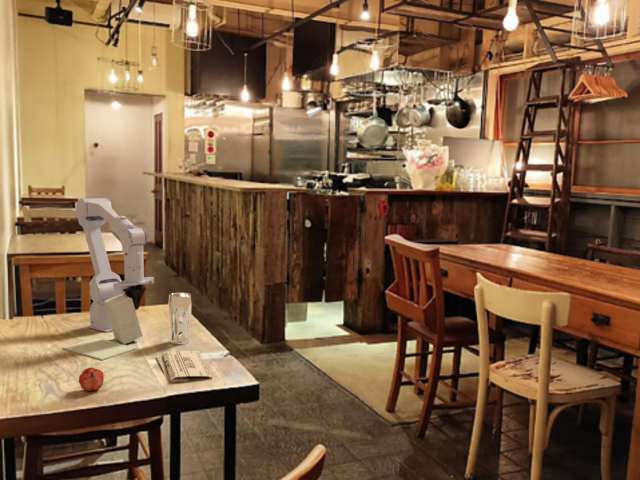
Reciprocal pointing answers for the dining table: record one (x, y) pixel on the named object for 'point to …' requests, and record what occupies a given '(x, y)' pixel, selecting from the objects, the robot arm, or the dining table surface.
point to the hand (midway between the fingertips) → (134, 309)
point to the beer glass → (179, 317)
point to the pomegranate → (91, 379)
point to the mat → (99, 348)
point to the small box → (123, 318)
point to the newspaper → (182, 365)
